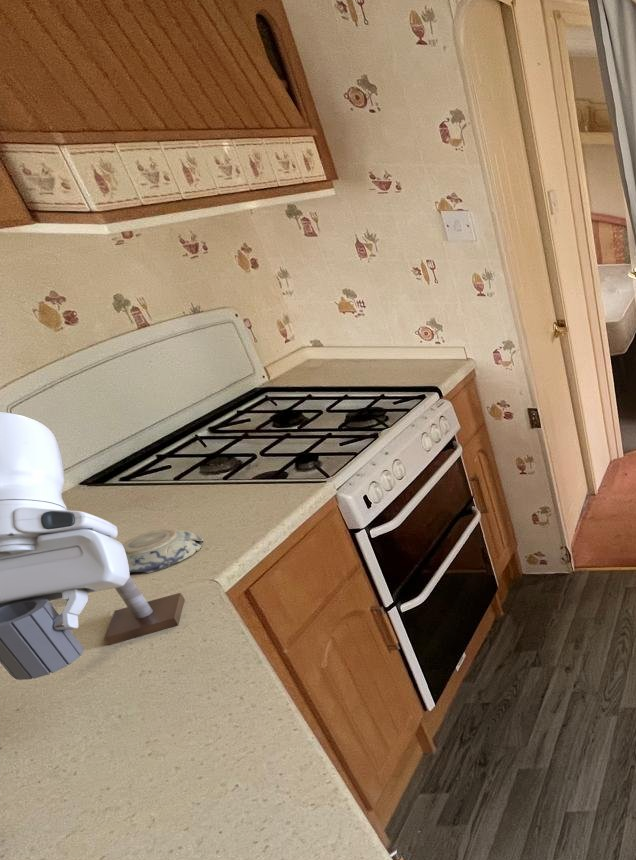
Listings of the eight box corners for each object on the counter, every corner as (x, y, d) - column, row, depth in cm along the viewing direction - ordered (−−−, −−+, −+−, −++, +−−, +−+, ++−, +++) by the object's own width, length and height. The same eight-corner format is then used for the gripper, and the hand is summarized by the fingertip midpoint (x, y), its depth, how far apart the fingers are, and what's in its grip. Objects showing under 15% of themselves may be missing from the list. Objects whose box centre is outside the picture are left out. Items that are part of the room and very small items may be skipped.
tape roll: (5, 687, 82) (-39, 636, 78) (21, 657, 87) (-19, 608, 83) (76, 666, 85) (38, 616, 81) (88, 639, 90) (52, 590, 86)
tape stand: (108, 645, 109) (76, 600, 104) (119, 617, 116) (89, 574, 111) (178, 625, 113) (150, 581, 109) (185, 599, 120) (158, 556, 115)
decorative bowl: (103, 558, 133) (112, 586, 124) (92, 542, 131) (101, 569, 122) (196, 529, 142) (211, 553, 133) (188, 514, 140) (202, 536, 131)
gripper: (-117, 545, 80) (-114, 658, 77) (99, 509, 87) (109, 612, 84) (-68, 558, 86) (-64, 664, 83) (132, 524, 92) (142, 620, 90)
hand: (25, 637), depth 83 cm, fingers closed on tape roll, 7 cm apart
